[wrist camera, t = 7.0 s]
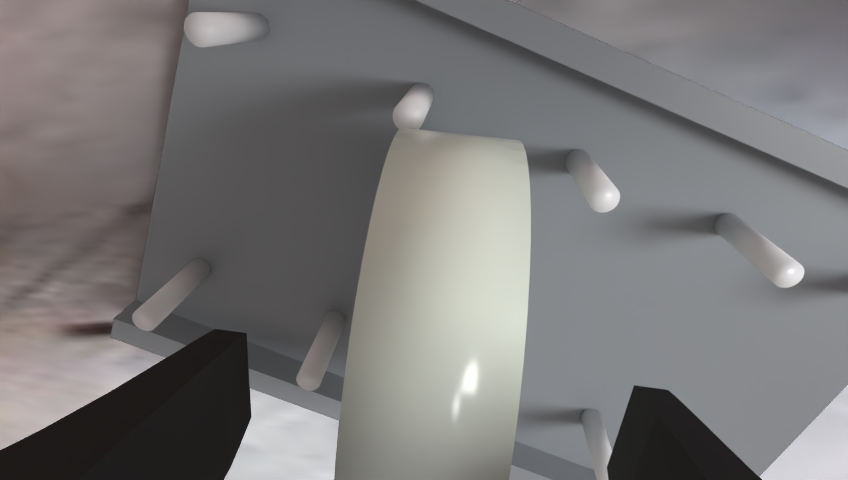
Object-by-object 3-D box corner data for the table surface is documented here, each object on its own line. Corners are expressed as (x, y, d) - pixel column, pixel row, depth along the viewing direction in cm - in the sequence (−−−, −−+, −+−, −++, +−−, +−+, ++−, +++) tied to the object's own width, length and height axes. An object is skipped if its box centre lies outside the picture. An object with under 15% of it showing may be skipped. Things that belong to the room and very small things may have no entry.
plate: (510, 92, 13) (561, 292, 5) (467, 355, 18) (459, 688, 10) (420, 82, 14) (332, 264, 5) (399, 347, 18) (333, 668, 10)
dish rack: (978, 211, 15) (1140, 274, 11) (699, 511, 21) (748, 618, 17) (226, -120, 13) (133, -172, 10) (145, 306, 19) (67, 376, 15)
